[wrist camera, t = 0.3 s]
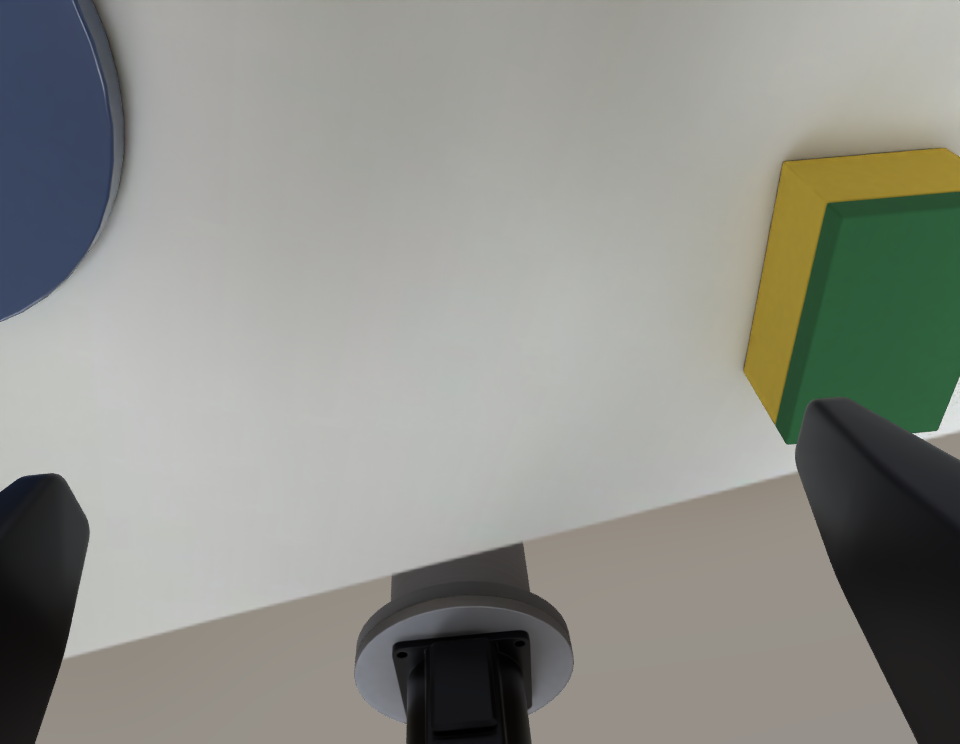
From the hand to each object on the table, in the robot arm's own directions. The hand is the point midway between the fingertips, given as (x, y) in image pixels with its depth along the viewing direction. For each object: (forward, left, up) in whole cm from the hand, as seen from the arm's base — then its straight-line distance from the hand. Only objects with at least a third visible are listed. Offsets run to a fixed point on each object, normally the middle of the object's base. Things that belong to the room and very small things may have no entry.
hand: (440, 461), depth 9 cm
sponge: (-7, -13, -15) cm, 21 cm away
